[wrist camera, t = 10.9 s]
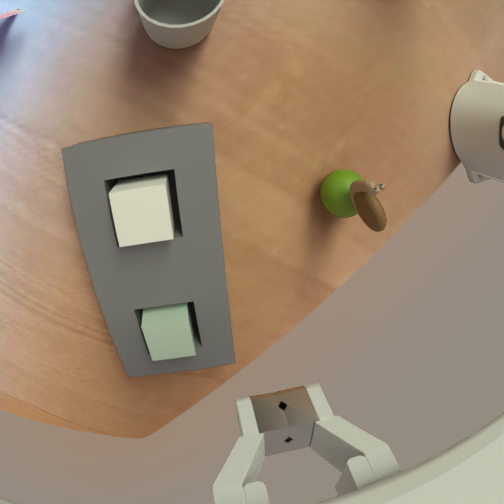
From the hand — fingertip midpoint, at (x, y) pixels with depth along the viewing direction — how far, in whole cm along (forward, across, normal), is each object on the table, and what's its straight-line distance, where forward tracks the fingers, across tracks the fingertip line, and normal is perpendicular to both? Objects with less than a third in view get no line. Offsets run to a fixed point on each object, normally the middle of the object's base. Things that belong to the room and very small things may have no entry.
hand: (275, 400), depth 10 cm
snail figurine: (+27, -14, 0) cm, 31 cm away
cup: (+27, +3, -21) cm, 34 cm away
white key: (+24, +7, -1) cm, 25 cm away
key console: (+26, +7, +6) cm, 28 cm away
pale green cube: (+24, +7, +13) cm, 28 cm away
